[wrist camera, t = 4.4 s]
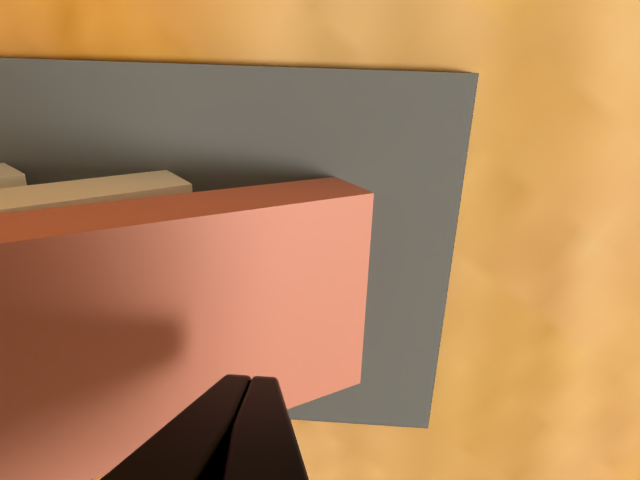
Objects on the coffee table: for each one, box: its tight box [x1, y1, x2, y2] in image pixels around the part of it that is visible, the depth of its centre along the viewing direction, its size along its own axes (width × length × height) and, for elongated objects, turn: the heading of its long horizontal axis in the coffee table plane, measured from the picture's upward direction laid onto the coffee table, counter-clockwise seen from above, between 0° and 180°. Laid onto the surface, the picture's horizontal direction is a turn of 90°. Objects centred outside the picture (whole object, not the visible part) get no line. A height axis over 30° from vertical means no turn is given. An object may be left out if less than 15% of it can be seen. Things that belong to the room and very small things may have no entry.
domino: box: [0, 177, 374, 480], centre depth 10 cm, size 2×5×9 cm
